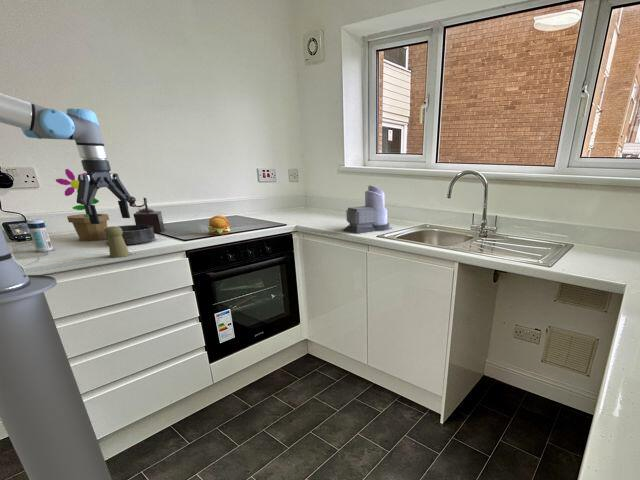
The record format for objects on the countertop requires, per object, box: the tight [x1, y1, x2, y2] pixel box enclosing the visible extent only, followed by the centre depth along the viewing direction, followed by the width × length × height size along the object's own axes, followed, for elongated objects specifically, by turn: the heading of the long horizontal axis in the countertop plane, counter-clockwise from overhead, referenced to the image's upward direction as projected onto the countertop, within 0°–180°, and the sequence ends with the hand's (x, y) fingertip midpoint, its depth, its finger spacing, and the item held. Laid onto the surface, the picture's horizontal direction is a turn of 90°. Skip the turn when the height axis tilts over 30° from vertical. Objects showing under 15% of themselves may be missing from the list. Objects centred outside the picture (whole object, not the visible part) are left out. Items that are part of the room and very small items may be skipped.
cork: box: [105, 226, 130, 258], centre depth 132 cm, size 6×6×11 cm
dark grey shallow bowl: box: [104, 224, 156, 246], centre depth 155 cm, size 17×17×6 cm
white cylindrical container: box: [26, 218, 54, 253], centre depth 135 cm, size 5×5×12 cm
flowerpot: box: [55, 168, 110, 242], centre depth 154 cm, size 14×14×30 cm
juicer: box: [342, 184, 392, 235], centre depth 200 cm, size 30×16×24 cm, turn 139°
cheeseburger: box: [207, 214, 231, 236], centre depth 178 cm, size 10×11×10 cm
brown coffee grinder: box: [127, 195, 166, 234], centre depth 174 cm, size 16×11×18 cm
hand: (111, 220), depth 130 cm, fingers open, 13 cm apart
